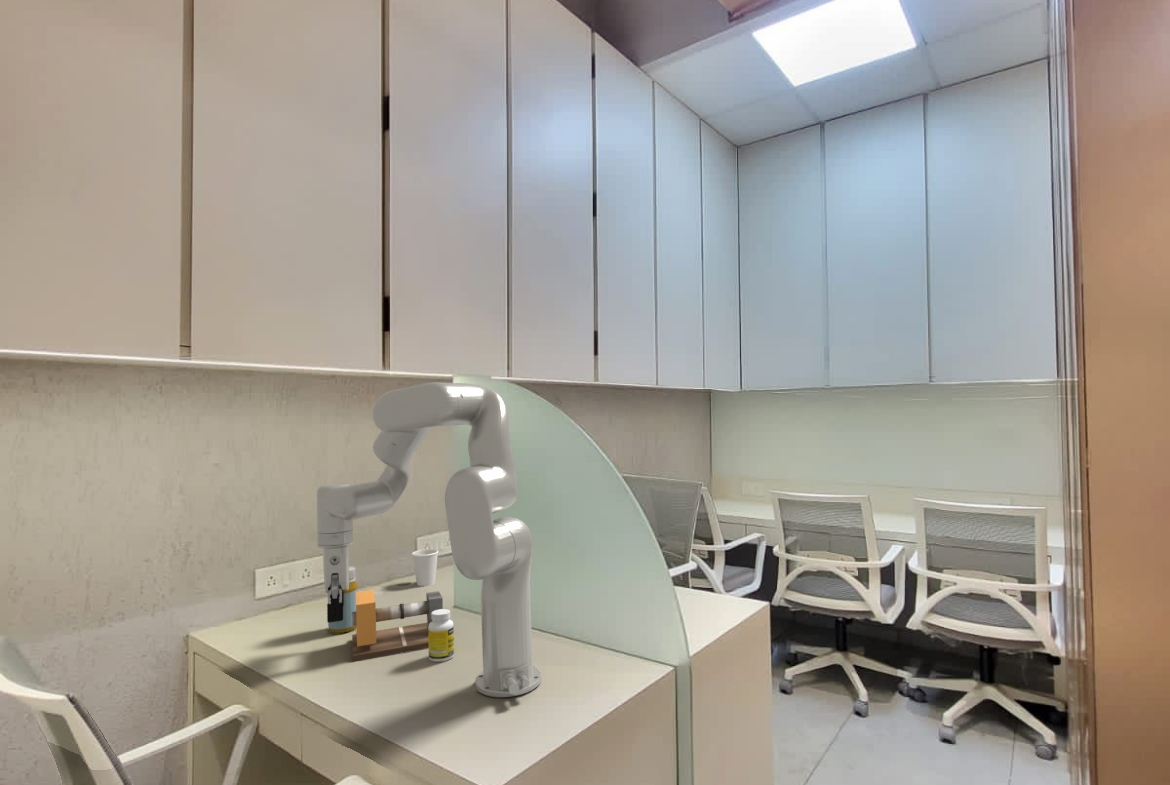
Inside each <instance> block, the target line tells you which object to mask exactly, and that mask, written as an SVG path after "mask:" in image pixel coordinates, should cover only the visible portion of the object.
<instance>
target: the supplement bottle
mask: <svg viewBox="0 0 1170 785" xmlns="http://www.w3.org/2000/svg"><path fill="white" fill-rule="evenodd" d="M431 618H432V620H433V621H432V622H431V623H430V624H429V626H428V643H429V648H428V659H429V661H431V662H435V663H440V662H446V661H449V660H451V659H452V658H454V655H455V631H454V630H455V629H454V626H455V625H454V621H453V620H452V619H450V618H451V610H450V609H447V608H443V609H439V610H435V611H433V612H432V613H431Z"/></svg>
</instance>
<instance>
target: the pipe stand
mask: <svg viewBox="0 0 1170 785" xmlns="http://www.w3.org/2000/svg"><path fill="white" fill-rule="evenodd" d="M425 595H426V600H424V601H423V600H422V601H416V602H411V603H399V604H396V605H391V606H390V605H389V606H382V607H377V608H376V623H379V622H386V621H392V620H393V621H394V620H398V619H400V620H404V619H405V618H411V617H416V616H423V615H426V621H427V622H422V623H421V622H420V623H416V624H410V625H404V626H398V627H392V628H391V627H390V628H385V629H381V630H379V629H378V630H376V643H375V644H369V645H363V646H358V647H357V633H355V634H351V637H352V638H351V642H352V643H351V644H352V645H351V646H352V648H351V650H352V652H351V653H352V654H351V655H352V662H357V661H363V660H369V659H374V657H375V658H379V656H381V657H385V656H391V654H392V655H396V654H395V653H397V654H402V653H401V652H403V653H408V652H414V651H418V649H419V650H423V649H424V648H425V649H429V643H428V626H429V624H430V623H431V622H432V621H433V620H432V618H431V613H432V612H433V611H435V610H439V609H444V605H443V604H444V603H443V601H444V600H443V596H442V594H441V593H440V591H439V590H437V591H431V592H426V594H425ZM355 625H357V620H356V612H352V626H355ZM413 650H414V651H413ZM407 651H408V652H407Z"/></svg>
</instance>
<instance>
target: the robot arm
mask: <svg viewBox="0 0 1170 785" xmlns="http://www.w3.org/2000/svg"><path fill="white" fill-rule="evenodd" d="M372 418H373V420H372V421H373V423H374V425H375V426H376V427H377V429H379V430H380V432H379V434H378V435H377V437H376V438H375V440H374V442H373V444H372V451H373V453H374V455H375V456H376V458H378V460H380V461H381V462H382V463H383V464H385V465H386V466H385V468H384V469H383V471H382V473H381V474H380V475H379V477H378V478H377V480H375V481H370V482H369V481H368V482H362V483H357V484H349V483H344V482H343V483H341V482H338V483H337V482H335V483H326V484H323V485H320V486H319V487H317V488H318V489H317V491H316V527H317V528H316V544H317V545H316V547H317V548H318V549H322V555H323V556H322V566H323V580H324V591H325V593H326V594H327V603H326V610H327V612H326V618H327V619H326V621H327V623H328V622H329V623H330V622H337V621H342V620H343V606H344V590H345V589H346V591H347V590H348V589H349V566H350V557H349V556H350V554H349V553H350V552H349V551H350V550H349V546H351V545H353V544H354V529H353V528H354V520H358V519H362V518H365V517H366V518H367V517H371V516H374V515H379V514H380V515H381V514H385V513H386V512H387V511H389V510H390V509H392V508H393V507H394V505H395V504H397V502H398V501H399V499H400V498H401V497H402V495H403V494H404V492H405V491H406V488H407V486H408V485H409V482H410V473H411V468H410V461H411V459H412V458H413V456H414V455H415V454H416V452H417V450H418V448H420V446H421V445H422V443H423V441H425V438H426V437H427V436H428V434H429V432H430V431H431V429H432V428H433V427H434V428H435V427H444V426H445V427H446V426H447V427H449V426H464V425H466V426H467V425H468V426H471V429H470V432H469V436H468V440H467V450H468V455H469V465H470V466H468V467H463V468H461V469H459V470H457V471H455V473H453V475H452V476H451V477H450V479H449V480H448V482H447V484H446V488H445V494H444V505H445V514H446V520H447V521H446V522H447V528H448V535H449V541H450V542H449V543H450V549H451V555H452V560H453V562H454V565H455V567H456V569H457V570H458V572H459V573H460V574H461V575H462V576H463V577H464V578H466V579H468V580H472V581H480V580H482V581H481V588H480V608H481V609H480V611H481V612H480V613H481V614H480V616H481V617H480V618H481V640H482V641H481V644H482V645H481V647H482V669H483V670H482V671H481V672H480V673H479V674H478V675H477V676H476V677H475V682H474V683H475V684H474V686H475V689H476V691H477V692H479V693H480V694H482V695H484V696H488V697H493V698H511V697H512V698H513V697H516V696H517V697H518V696H521V695H524V694H526V693H529V692H531V691H533V690H535V689H536V688H537V687H539V685H540V683H541V682H542V674H541V670H539V669H538V668H537V667H535V666H533V641H532V638H533V637H532V616H531V615H532V614H531V610H532V608H531V567H532V558H533V557H532V556H533V551H534V548H533V547H534V545H533V544H534V543H533V541H534V540H533V535H532V533H531V530H530V528H529V526H528V525H527V524H526V523H525V522H524V521H522V520H521V519H519V518H517V517H512V516H503V517H499V518H495V519H494V518H493V514H495V513H498V512H502V511H504V510H507V509H509V508H510V507H511V506H513V505H514V504H515V502H516V501H517V499H518V495H519V494H518V493H519V487H518V478H517V472H516V466H515V465H516V464H515V459H514V453H513V452H514V451H513V448H512V447H513V446H512V443H511V442H512V441H511V435H510V422H509V413H508V410H507V405H506V402H505V401H504V400H503V398H502V396H500V395H499V393H498V392H496V391H495V390H493V389H491V388H489V387H487V386H484V385H480V384H474V383H465V382H464V383H463V382H462V383H461V382H445V381H444V382H441V381H439V382H437V381H436V382H435V381H433V382H427V383H422V384H417V385H413V386H407V387H403V388H398V389H392V390H388V391H386V392H384V393H383V394H381V395H380V396H379V397H378V399H377V400H376V401H375V403H374V405H373V409H372ZM342 589H343V590H342Z"/></svg>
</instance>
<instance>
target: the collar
mask: <svg viewBox="0 0 1170 785" xmlns="http://www.w3.org/2000/svg"><path fill="white" fill-rule="evenodd" d="M356 620H357V628H356V634H357V647H358V646H363V645H369V644H375V643H376V631H377V622H376V598H375V590H374V589H369V590H362V591H361V590H360V591H358V592H356Z"/></svg>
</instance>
